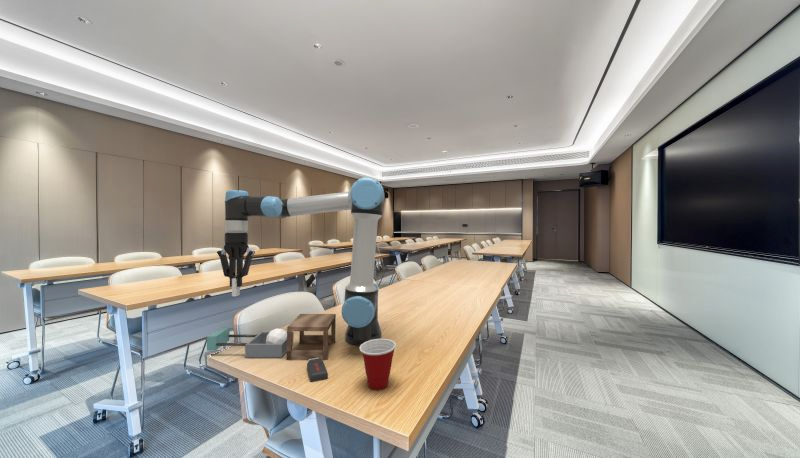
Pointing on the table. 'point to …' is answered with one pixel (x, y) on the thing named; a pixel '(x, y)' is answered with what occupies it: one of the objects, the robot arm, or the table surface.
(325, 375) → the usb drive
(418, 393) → the table surface
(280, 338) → the geometric ball
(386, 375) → the plastic cup
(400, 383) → the table surface
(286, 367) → the table surface
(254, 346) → the long-handled grey tray
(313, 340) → the shelf
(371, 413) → the table surface
